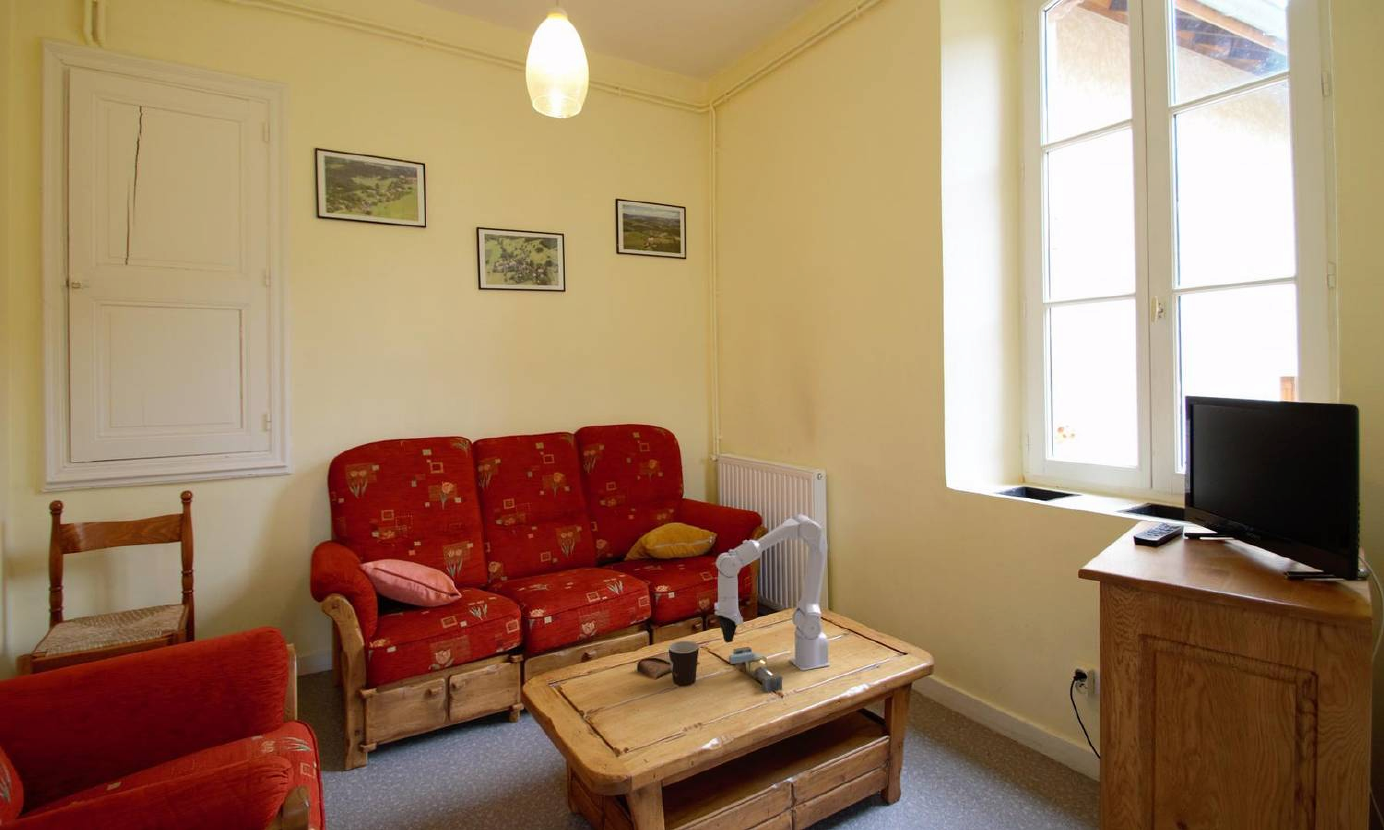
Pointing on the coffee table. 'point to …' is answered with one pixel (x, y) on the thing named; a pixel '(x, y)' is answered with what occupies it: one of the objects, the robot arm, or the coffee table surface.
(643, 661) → the sunglasses case
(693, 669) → the coffee mug
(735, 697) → the coffee table surface
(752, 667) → the valve body
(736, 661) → the lever
